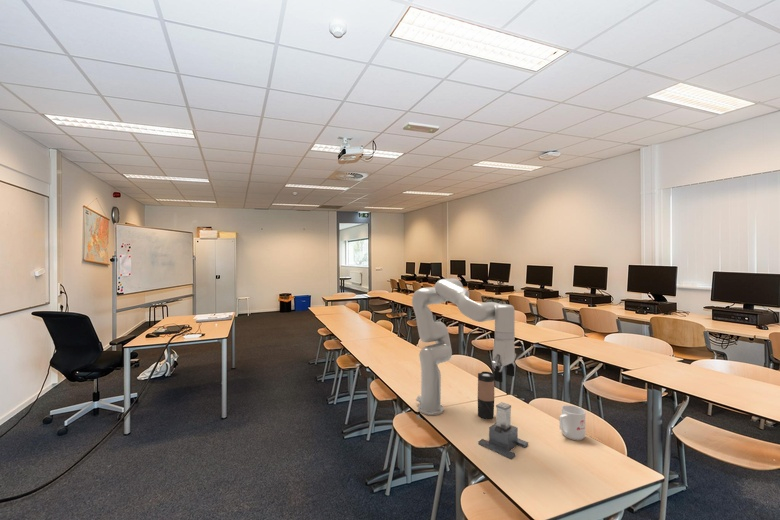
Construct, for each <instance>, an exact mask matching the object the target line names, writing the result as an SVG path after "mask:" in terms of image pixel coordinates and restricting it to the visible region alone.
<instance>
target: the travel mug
mask: <svg viewBox="0 0 780 520" xmlns="http://www.w3.org/2000/svg"><path fill="white" fill-rule="evenodd" d="M494 415H495V380H494V372H490V371H481V372H478V373H477V416H478V417H479V418H480V419H482V420H486V421H489V420H493V419H494V417H495V416H494Z"/></svg>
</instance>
